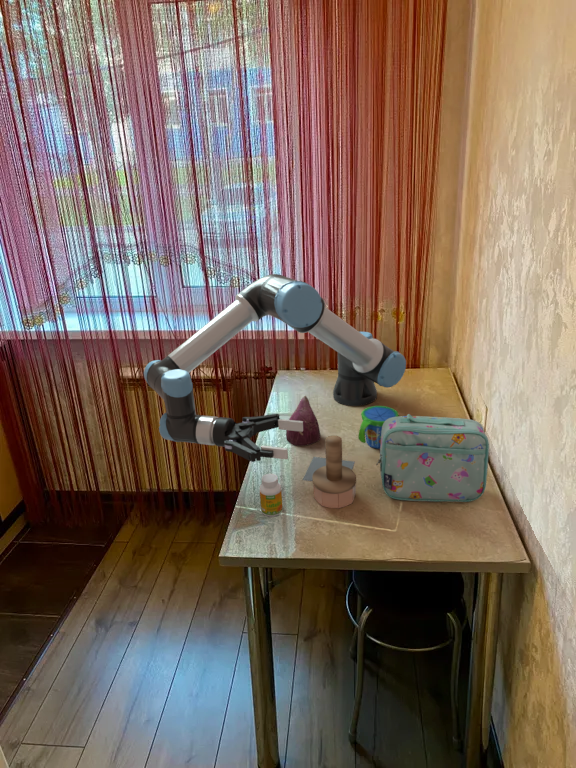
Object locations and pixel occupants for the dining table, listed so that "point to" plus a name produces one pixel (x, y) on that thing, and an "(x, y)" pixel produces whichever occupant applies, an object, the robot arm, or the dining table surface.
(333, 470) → the paper towel holder
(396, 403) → the dining table surface
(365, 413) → the snack cup
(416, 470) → the lunch box
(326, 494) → the bowl
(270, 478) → the supplement bottle
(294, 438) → the vegetable
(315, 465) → the mat
